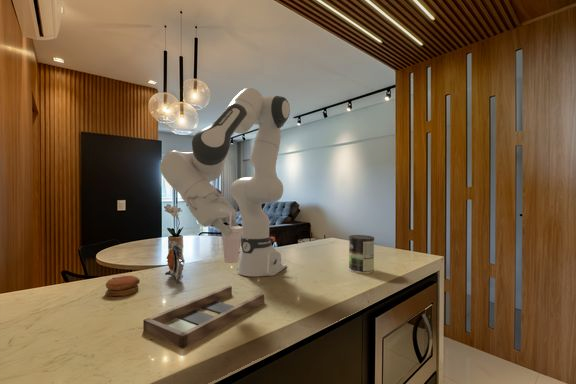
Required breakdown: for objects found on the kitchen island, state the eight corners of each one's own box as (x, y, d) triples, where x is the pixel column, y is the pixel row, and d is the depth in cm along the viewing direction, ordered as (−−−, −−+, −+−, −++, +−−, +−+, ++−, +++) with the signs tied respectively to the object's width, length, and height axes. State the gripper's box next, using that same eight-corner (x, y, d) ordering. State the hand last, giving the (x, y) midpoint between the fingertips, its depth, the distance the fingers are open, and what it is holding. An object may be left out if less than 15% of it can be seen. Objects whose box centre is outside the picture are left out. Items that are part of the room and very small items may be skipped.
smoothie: (215, 261, 78) (216, 212, 78) (233, 257, 82) (234, 211, 83) (228, 265, 73) (229, 213, 73) (247, 261, 78) (248, 212, 78)
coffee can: (350, 273, 111) (350, 238, 111) (348, 266, 121) (348, 234, 121) (376, 274, 109) (376, 239, 109) (372, 267, 119) (372, 235, 120)
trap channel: (228, 293, 87) (228, 285, 87) (264, 302, 80) (264, 294, 80) (143, 330, 63) (143, 319, 63) (182, 348, 56) (182, 336, 56)
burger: (135, 295, 85) (135, 280, 85) (100, 299, 82) (100, 283, 82) (141, 286, 94) (142, 272, 94) (110, 288, 91) (111, 274, 92)
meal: (162, 274, 108) (163, 241, 108) (174, 272, 110) (174, 240, 110) (172, 284, 95) (172, 247, 96) (184, 282, 98) (185, 245, 98)
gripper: (192, 188, 69) (228, 228, 67) (222, 190, 89) (251, 221, 88) (175, 205, 69) (211, 245, 68) (209, 204, 90) (237, 235, 88)
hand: (233, 232), depth 78 cm, fingers closed on smoothie, 6 cm apart
